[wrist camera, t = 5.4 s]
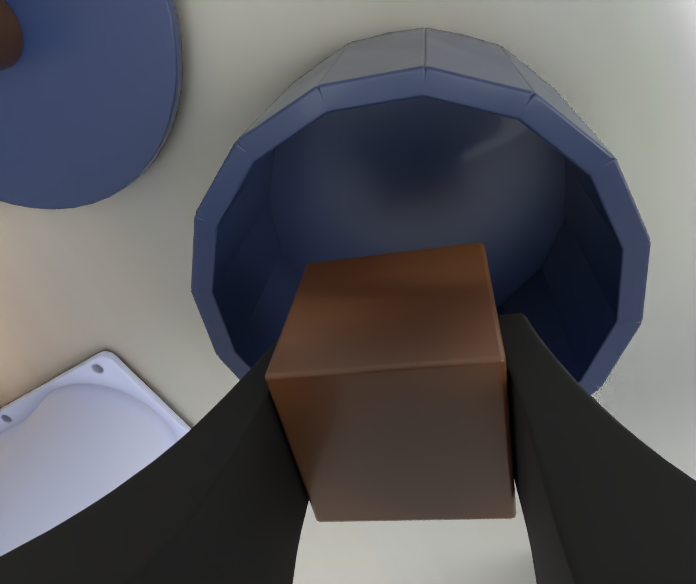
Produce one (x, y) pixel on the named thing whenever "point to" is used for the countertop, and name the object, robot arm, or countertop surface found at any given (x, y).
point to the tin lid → (84, 96)
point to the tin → (425, 196)
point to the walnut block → (397, 388)
